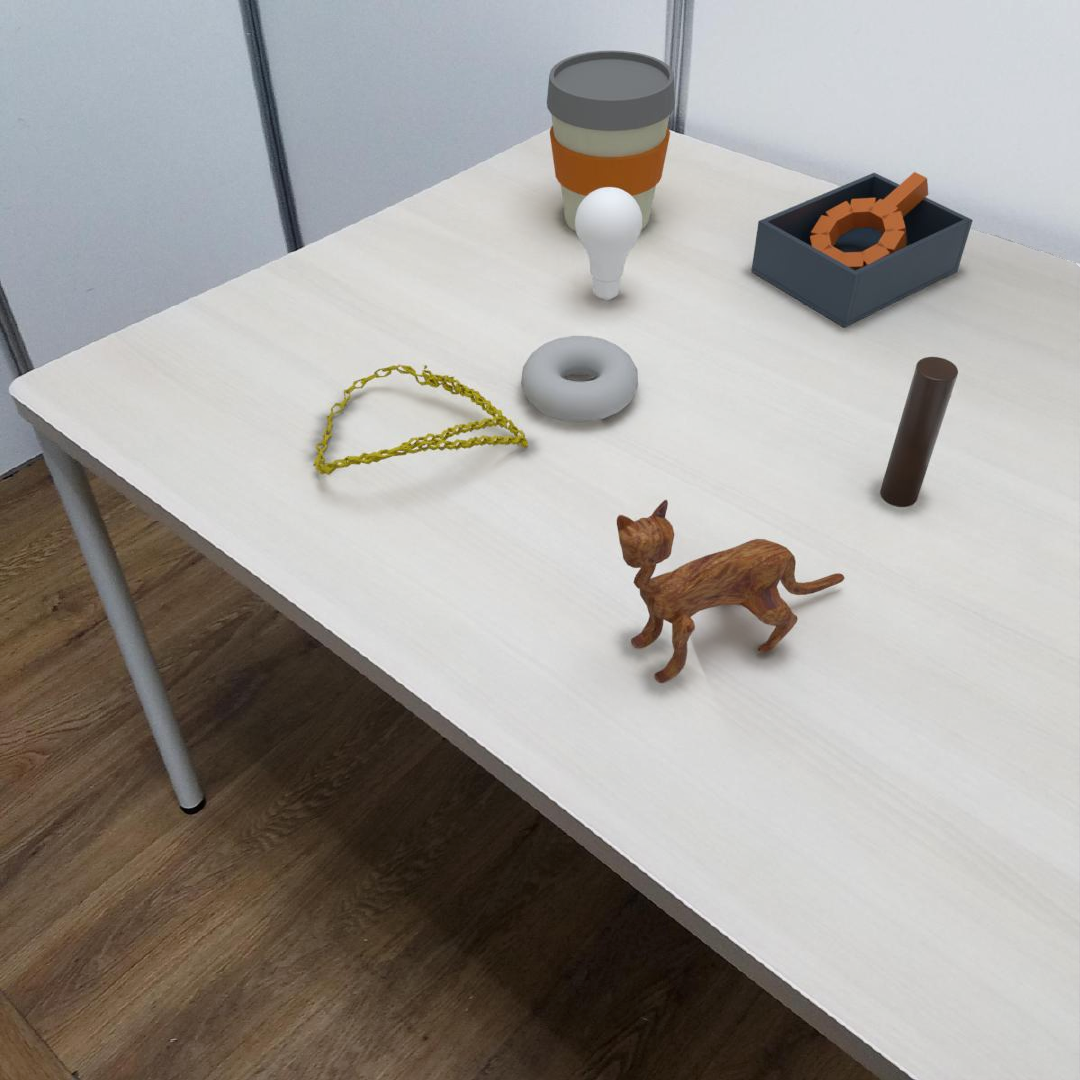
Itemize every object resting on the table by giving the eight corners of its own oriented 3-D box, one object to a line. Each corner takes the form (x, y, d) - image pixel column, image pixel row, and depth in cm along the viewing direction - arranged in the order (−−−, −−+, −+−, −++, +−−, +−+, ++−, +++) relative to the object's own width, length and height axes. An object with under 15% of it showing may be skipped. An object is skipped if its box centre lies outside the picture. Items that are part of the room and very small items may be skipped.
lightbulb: (561, 303, 102) (561, 195, 94) (596, 274, 105) (599, 168, 98) (616, 323, 99) (620, 214, 92) (649, 293, 103) (657, 186, 95)
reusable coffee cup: (523, 217, 114) (519, 74, 103) (606, 178, 120) (610, 39, 109) (607, 261, 107) (612, 114, 96) (690, 218, 113) (704, 74, 102)
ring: (861, 296, 101) (858, 281, 99) (795, 257, 106) (791, 241, 105) (958, 209, 102) (957, 192, 100) (888, 174, 107) (886, 157, 105)
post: (907, 480, 84) (946, 353, 75) (923, 504, 82) (965, 377, 73) (873, 486, 83) (909, 359, 75) (889, 510, 81) (927, 382, 73)
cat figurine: (814, 557, 78) (850, 409, 68) (869, 620, 74) (916, 471, 64) (593, 639, 73) (598, 490, 63) (638, 710, 68) (651, 563, 59)
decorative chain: (532, 445, 87) (532, 396, 84) (398, 530, 79) (392, 479, 76) (396, 381, 96) (391, 334, 93) (261, 451, 87) (251, 402, 84)
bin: (863, 221, 112) (874, 172, 108) (957, 271, 105) (973, 219, 101) (751, 271, 105) (758, 220, 102) (843, 327, 98) (855, 275, 95)
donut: (644, 367, 95) (534, 353, 96) (647, 335, 92) (534, 321, 94) (628, 438, 88) (509, 422, 89) (630, 405, 85) (509, 389, 87)
